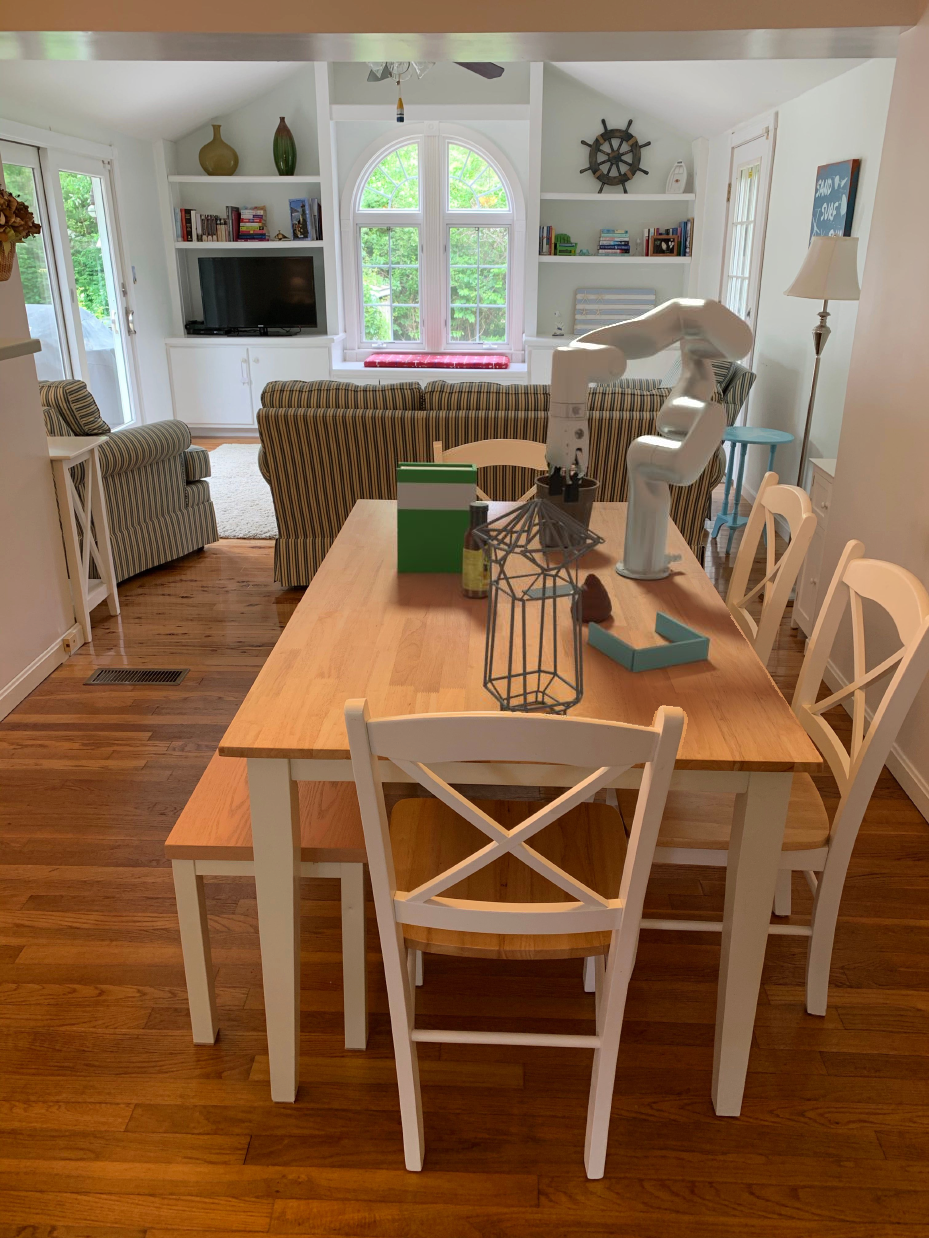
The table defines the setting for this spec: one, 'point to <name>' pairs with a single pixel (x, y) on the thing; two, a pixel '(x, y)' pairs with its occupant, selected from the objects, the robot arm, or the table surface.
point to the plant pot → (567, 508)
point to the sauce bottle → (476, 555)
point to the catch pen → (683, 649)
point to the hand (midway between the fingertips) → (563, 497)
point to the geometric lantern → (571, 528)
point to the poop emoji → (593, 600)
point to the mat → (549, 591)
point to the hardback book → (433, 515)
